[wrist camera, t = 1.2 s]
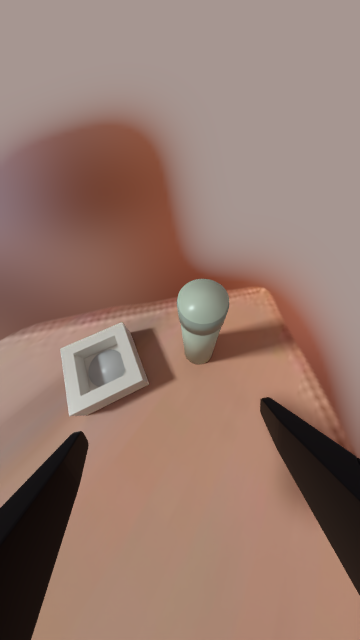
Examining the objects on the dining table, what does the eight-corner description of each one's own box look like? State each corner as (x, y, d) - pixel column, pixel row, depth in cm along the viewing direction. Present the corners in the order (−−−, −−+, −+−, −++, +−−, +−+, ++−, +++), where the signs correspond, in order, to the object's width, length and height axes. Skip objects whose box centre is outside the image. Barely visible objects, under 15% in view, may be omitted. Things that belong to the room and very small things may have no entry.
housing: (149, 384, 23) (142, 379, 20) (86, 415, 22) (69, 416, 19) (130, 332, 27) (122, 322, 24) (76, 356, 26) (60, 348, 23)
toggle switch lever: (218, 346, 25) (239, 291, 14) (203, 371, 24) (213, 332, 12) (193, 332, 26) (194, 271, 15) (178, 354, 25) (165, 305, 14)
